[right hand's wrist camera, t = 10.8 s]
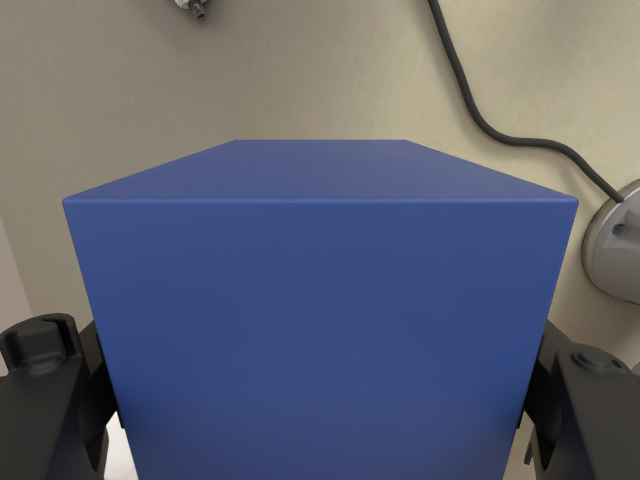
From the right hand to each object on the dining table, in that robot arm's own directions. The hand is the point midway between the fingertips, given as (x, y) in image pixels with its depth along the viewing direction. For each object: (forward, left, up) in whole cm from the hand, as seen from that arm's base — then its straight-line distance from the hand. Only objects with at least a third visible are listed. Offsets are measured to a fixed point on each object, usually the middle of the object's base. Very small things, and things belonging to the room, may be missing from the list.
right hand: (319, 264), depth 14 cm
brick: (0, 0, -4) cm, 4 cm away
